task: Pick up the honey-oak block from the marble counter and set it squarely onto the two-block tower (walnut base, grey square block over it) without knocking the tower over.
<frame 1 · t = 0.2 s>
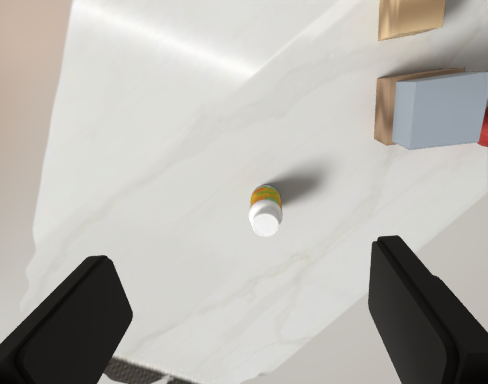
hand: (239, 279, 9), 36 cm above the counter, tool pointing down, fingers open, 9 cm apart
oak block: (398, 16, 36), on the counter
tower base: (405, 105, 40), on the counter, touching grey square block
supplement bottle: (265, 197, 48), on the counter
onion: (476, 122, 40), on the counter
grey square block: (424, 108, 36), point 5 cm above the counter, touching tower base
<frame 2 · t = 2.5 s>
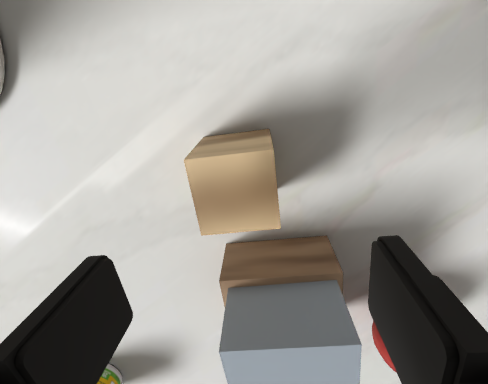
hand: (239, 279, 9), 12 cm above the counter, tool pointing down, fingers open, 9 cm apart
oak block: (240, 164, 21), on the counter
tower base: (279, 277, 25), on the counter, touching grey square block
supplement bottle: (102, 372, 33), on the counter
onion: (389, 301, 26), on the counter
grey square block: (285, 322, 21), point 5 cm above the counter, touching tower base
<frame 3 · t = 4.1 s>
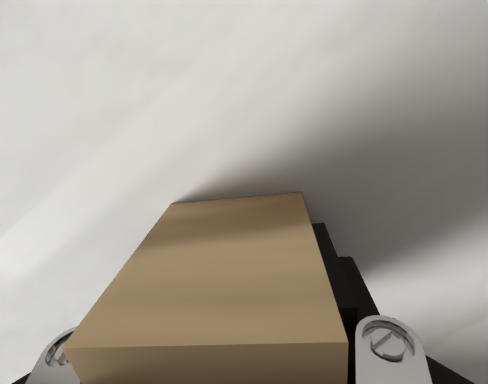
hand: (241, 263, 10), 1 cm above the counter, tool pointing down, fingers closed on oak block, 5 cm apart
oak block: (242, 252, 11), on the counter, touching gripper
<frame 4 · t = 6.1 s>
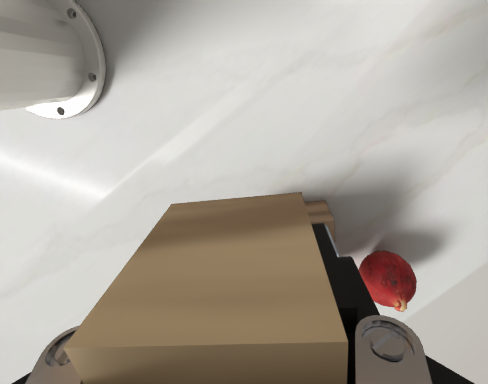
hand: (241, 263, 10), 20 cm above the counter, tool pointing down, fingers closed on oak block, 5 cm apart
oak block: (243, 252, 11), point 20 cm above the counter, touching gripper
tower base: (289, 234, 33), on the counter, touching grey square block
onion: (373, 256, 34), on the counter
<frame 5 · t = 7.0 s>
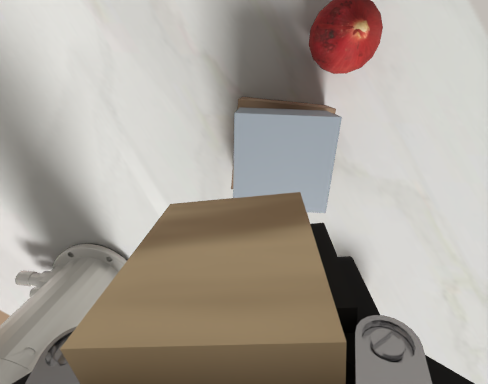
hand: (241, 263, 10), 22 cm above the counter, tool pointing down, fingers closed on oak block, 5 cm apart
oak block: (242, 252, 11), point 21 cm above the counter, touching gripper
tower base: (277, 141, 30), on the counter, touching grey square block
onion: (332, 43, 26), on the counter
grey square block: (279, 151, 26), point 5 cm above the counter, touching tower base
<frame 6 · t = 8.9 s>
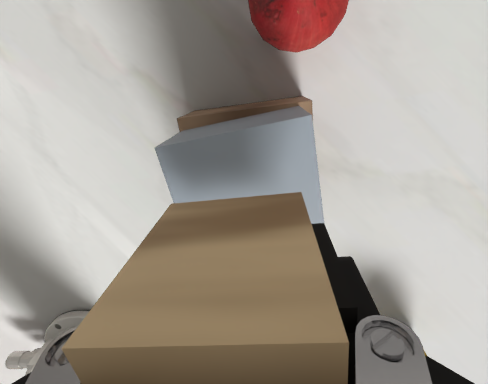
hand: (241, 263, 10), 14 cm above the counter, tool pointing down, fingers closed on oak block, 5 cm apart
oak block: (243, 252, 11), point 14 cm above the counter, touching gripper
tower base: (253, 155, 24), on the counter, touching grey square block
onion: (291, 12, 19), on the counter
grey square block: (250, 174, 19), point 5 cm above the counter, touching tower base
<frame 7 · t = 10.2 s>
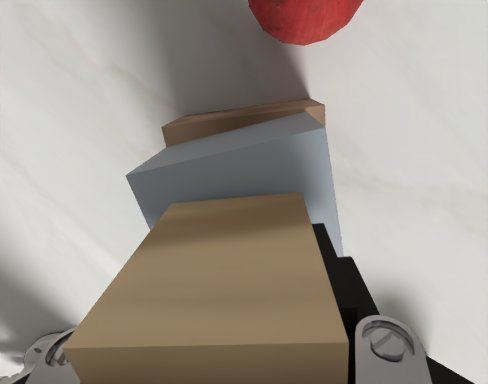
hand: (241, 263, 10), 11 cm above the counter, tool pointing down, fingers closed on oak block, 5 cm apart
oak block: (243, 252, 11), point 10 cm above the counter, touching gripper
tower base: (254, 166, 21), on the counter, touching grey square block
grey square block: (251, 194, 16), point 5 cm above the counter, touching tower base
when the fingers open (11 cm above the counter, at t = 11.1 s): oak block stays where it is, resting on grey square block.
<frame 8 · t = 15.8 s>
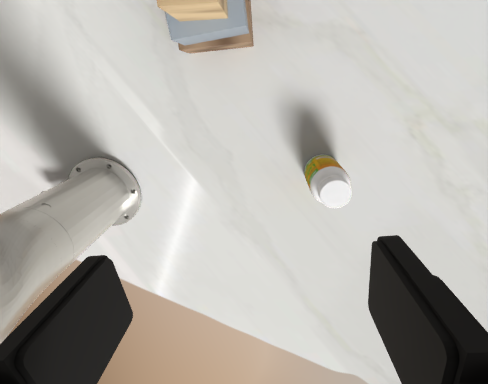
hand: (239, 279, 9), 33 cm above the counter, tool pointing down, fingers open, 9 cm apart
tower base: (217, 11, 35), on the counter, touching grey square block
supplement bottle: (320, 169, 42), on the counter
grey square block: (209, 0, 30), point 5 cm above the counter, touching oak block, tower base
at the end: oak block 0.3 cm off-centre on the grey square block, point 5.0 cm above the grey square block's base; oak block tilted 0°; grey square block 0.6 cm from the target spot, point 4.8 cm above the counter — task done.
